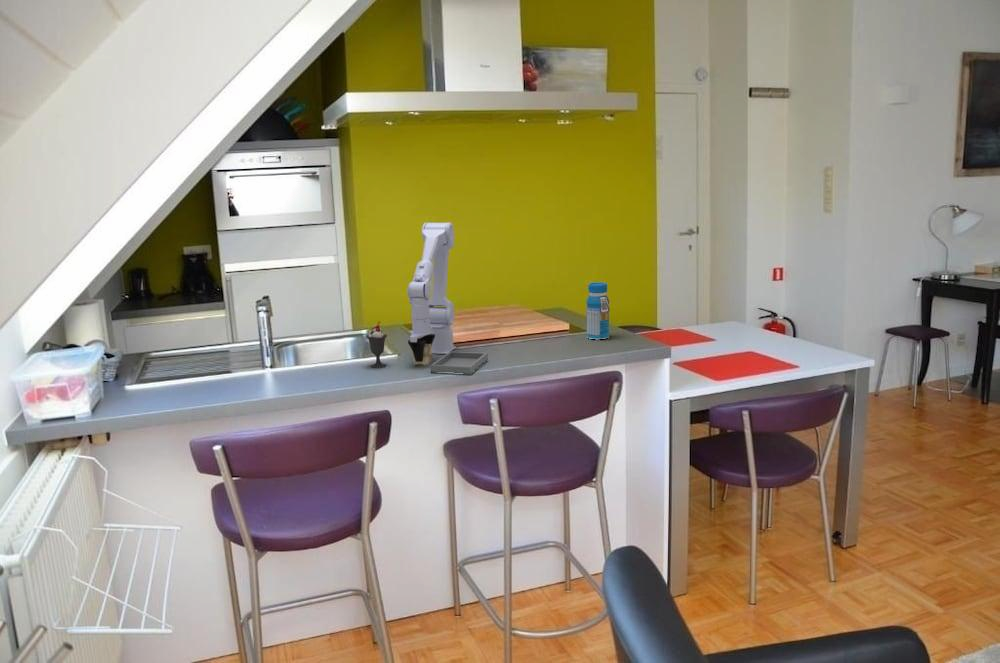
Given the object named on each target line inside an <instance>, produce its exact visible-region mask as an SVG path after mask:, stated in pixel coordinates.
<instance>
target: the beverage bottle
mask: <svg viewBox="0 0 1000 663" xmlns="http://www.w3.org/2000/svg"><path fill="white" fill-rule="evenodd" d="M587 287H588V289H587V291H588V293H589V295H588V296H587V298H586V301H585V302H586V307H585V313H586V320H585V321H586V338H587V339H588V338H589V339H588V340H590V339H606V338H608V339H609V338H610V311H611V310H610V307H609V304H610V300H609V297H608V296H607V293H608V283H606V282H601V281H600V282H597V281H596V282H594V281H593V282H589V283H588V286H587ZM606 340H607V339H606Z"/></svg>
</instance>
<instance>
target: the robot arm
mask: <svg viewBox="0 0 1000 663" xmlns="http://www.w3.org/2000/svg"><path fill="white" fill-rule="evenodd" d="M421 237H422V240H423V243H424V244H423V248H422V256H421V260H420V261H418V262H417V264H416V267H415V271H414V273H413V274H414V275H413V279H412V281H411V282H409V283H408V285H407V289H406V290H407V291H406V292H407V297H408V301H409V304H410V305H411V306H410V307H411V308H410V309H411V324H412V325H411V326H412V330H409V331H408V333H409V334H410V336H409V339H408V340H407V344H408V345H409V347H410V349H411V350H412V353H413V354H414V356H413V358H414V357H415V360H416V362H422V361H423V351H424V346H425V344H431V353H432V354H435V355H436V354H438V355H446V354H447V353H449V352H450V351H451V352H453V350H455V349H456V348H457V346H454V334H453V333H454V332H453V327H452V324H453V323H454V321H455V310H454V308H455V306H454V303H453V302H452V301H451V300H449V299H448V298H447V290H448V289H447V288H448V273H449V272H448V270H449V258H450V257H449V255H450V250H451V249H452V248H454V244H455V243H454V242H455V229H454V225H453V224H452V222H450V221H449V222H424V223H423V224H422V227H421Z"/></svg>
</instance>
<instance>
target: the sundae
mask: <svg viewBox="0 0 1000 663" xmlns="http://www.w3.org/2000/svg"><path fill="white" fill-rule="evenodd" d="M380 323H381V321H378V323H377V325H376V326H374V327H371V329H370V333H369V334H366V335H365V337H366V338H367V339H368V343H369V346H370V347H369V348H370V351H371V353H372V354H373V355H374V356H375V359H376V360H375V363H374V364H371V365H370V367H371V368H374V369H380V368H379V367H381V368H385V367H386V366H387V364H386V363H383V362H381V359H380V358H381V355H382V354H383V353H384V351H385V341H386V337H388V335H387V334H386V333H384V332H383V330H382V328H381V326H380V325H379V324H380ZM384 366H385V367H384Z"/></svg>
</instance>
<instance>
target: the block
mask: <svg viewBox="0 0 1000 663" xmlns="http://www.w3.org/2000/svg"><path fill="white" fill-rule="evenodd" d="M432 354H433V353H431V344H425V346H424V351H423V361H422V362H416V360H415V357H414V354H413V365H414V364H428V363H430V362H431V361H432V362H433V358H432V357H433V355H432ZM432 362H431V363H432ZM431 363H430V364H431ZM428 365H429V364H428Z"/></svg>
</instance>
